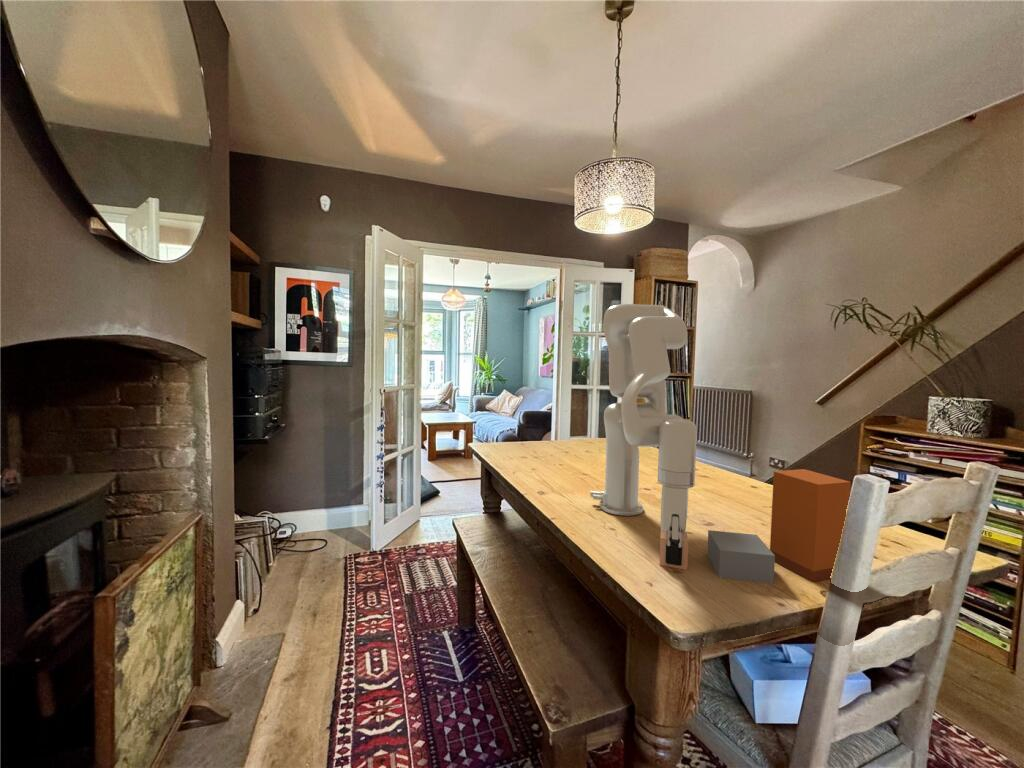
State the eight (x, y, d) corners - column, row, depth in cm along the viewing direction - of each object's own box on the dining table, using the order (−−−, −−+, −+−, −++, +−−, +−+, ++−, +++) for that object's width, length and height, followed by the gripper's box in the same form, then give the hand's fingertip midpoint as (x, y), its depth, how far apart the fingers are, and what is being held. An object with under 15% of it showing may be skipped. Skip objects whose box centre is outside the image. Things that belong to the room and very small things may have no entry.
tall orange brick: (847, 576, 85) (853, 481, 84) (813, 582, 82) (819, 484, 81) (801, 554, 95) (805, 468, 93) (769, 559, 92) (773, 471, 91)
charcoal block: (718, 578, 84) (720, 549, 84) (707, 555, 94) (708, 530, 93) (773, 584, 82) (774, 555, 81) (755, 561, 91) (756, 534, 91)
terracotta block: (659, 564, 89) (660, 537, 88) (659, 553, 94) (660, 528, 94) (687, 569, 87) (688, 542, 86) (685, 558, 92) (686, 532, 92)
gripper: (658, 465, 99) (655, 539, 100) (657, 485, 83) (654, 573, 84) (692, 468, 96) (689, 544, 97) (697, 490, 80) (694, 580, 81)
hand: (673, 556), depth 90 cm, fingers closed on terracotta block, 5 cm apart
